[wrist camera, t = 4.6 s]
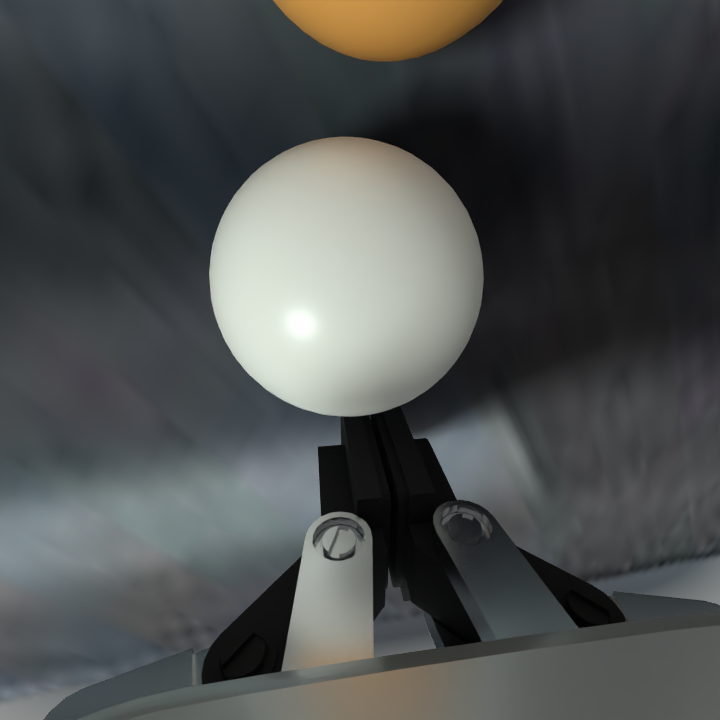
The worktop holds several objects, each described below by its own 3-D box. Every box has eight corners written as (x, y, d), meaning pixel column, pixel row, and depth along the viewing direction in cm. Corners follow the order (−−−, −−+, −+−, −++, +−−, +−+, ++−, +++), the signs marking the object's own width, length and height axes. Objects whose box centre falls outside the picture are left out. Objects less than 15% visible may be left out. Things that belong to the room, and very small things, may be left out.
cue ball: (476, 422, 10) (431, 247, 12) (586, 320, 5) (473, 44, 7) (260, 454, 10) (252, 272, 12) (133, 386, 5) (158, 85, 7)
